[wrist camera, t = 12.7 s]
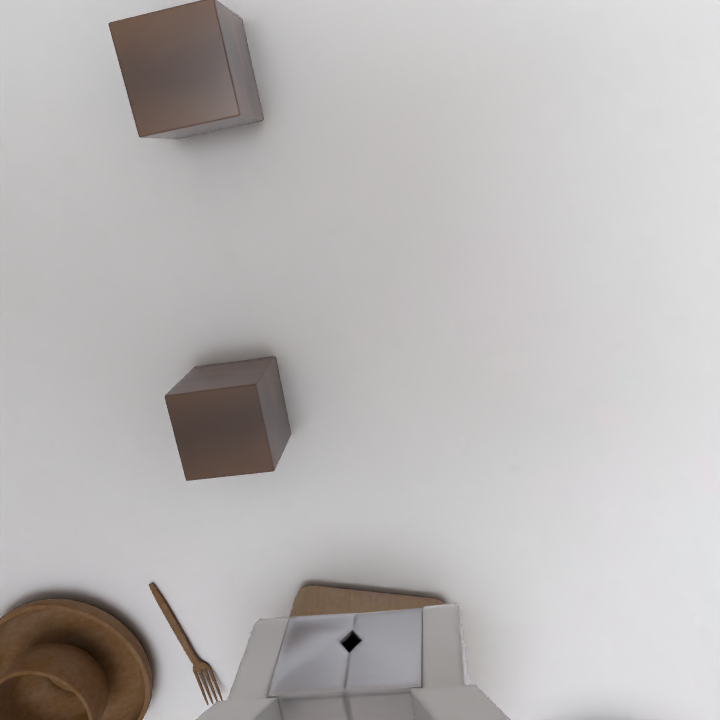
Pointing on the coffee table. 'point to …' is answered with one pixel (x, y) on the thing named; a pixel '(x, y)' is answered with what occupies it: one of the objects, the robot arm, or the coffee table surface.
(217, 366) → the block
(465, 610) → the coffee table surface
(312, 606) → the wooden block
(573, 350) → the coffee table surface
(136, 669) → the place setting
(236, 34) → the middle block
